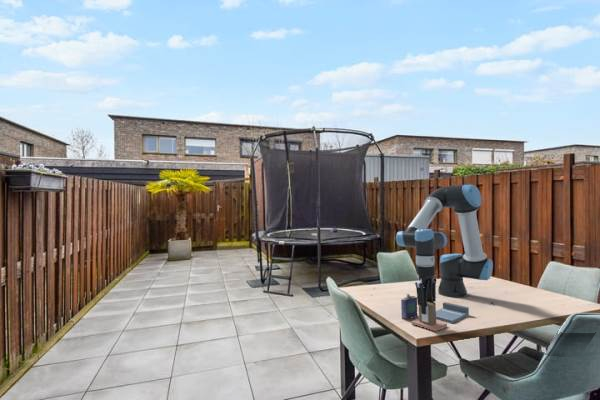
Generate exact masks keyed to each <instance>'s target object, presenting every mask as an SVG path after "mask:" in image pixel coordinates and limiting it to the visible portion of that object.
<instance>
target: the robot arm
mask: <svg viewBox="0 0 600 400" xmlns="http://www.w3.org/2000/svg"><path fill="white" fill-rule="evenodd" d="M480 206H482V196H481V192H480V190H479V188H478V187H477V186H476V185H474V184H459V185H449V186H448V185H447V186H442V187H439V188H437V189H436V190H434V191H433V192H431V193H430V194H429V195H428V196H427V197H426V199H424V204H423V206H422V207H421V208H420V209H419V211H418V213H417V214H416V216H414V218H413V220H412V221H411V223H409V224H408V226H407V227H406V229H405V231H404V230H400V231H397V233H396V236H395V241H396V244H397V245H398V246H399V247H405V248H415V264H416V265H415V269H416V270H415V271H416V275H418V276H419V277H418V281H416V282H414V284H415V288H416V297H417V306H419V305H420V306H421V311H422V321H424V322H429V314H428V306H427V302H430V303H435V304H436V301H437V299H436V298H437V296H436V295H437V294H436V293H438V294H439V295H441V296H445V297H452V298H463V297H464V298H465V297H467V296H468V291H467V287H466V286H465V282H464V278H466V279H472V280H479V281H489V280H490V279H491V276H492V274H493V269H494V262H493V260H492V259H491V258H488V255H487V253H485V252H484V250H483V245H482V239H481V235H480V233H481V232H480V228H479V223H478V218H477V211H478V210H479V207H480ZM445 208H452V209H453V212H454V213H455V214H457V218H458V223H459V227H460V228H459V229H460V234H461V239H462V243H463V248H464V249H463V250H464V254H462V253H447V254H442V255H440V257H439V258H440V259H439V265H440V266H439V267H440V268H439V269H440V281H439V284H438V288H436V286H437V278H434V277H433V276H435V275H436V266H435V263H436V259H435V250H441V249H442V248H444V247H446V246H447V245H448V237H447V235H446V234H445V233H444V232H441V231H434V230H433V229H431V228H428V226H429V225H430V223H432V221H433V219H434V218H435V217H436V214H437V213H439V212H441V210H443V209H445ZM436 289H437V290H438V292H436Z"/></svg>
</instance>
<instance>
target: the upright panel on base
mask: <svg viewBox="0 0 600 400" xmlns="http://www.w3.org/2000/svg"><path fill="white" fill-rule="evenodd" d="M427 306H428V314H429V322H424V321H422V311H421V306H420V305H418V318H416V319H414V320H411V325H413V326H416V325H417V327H419V326H420V328H422V327H424V328H423V329H426V328H427V329H426V330H429V329H430V330H429V331H432V330H433V332H435V331H437V332H439V331H440V329H441V330H442V329H444V328H446V327H447V326H448V324H447V323H448V322H445V321H442V320H438V319H436V311H437V310H436V309H437V308H436V306H437V305H436V302H435V303H430V302H427ZM438 330H439V331H438Z"/></svg>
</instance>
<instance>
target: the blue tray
mask: <svg viewBox="0 0 600 400" xmlns="http://www.w3.org/2000/svg"><path fill="white" fill-rule="evenodd" d="M469 310H470V308H469V307H468V306H465V305H459V304H455V303H452V302H451V303H450V302H446V301H444V302H443V303H442V308H439V309H437V310H436V320H438V319H439V320H438V321H441V322H445V321H446V322H445V323H449V322H450V324H455V323H457V322H458V321H460V320H462V319H465V318H466V317H468V316H470V311H469Z"/></svg>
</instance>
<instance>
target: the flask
mask: <svg viewBox="0 0 600 400" xmlns="http://www.w3.org/2000/svg"><path fill="white" fill-rule="evenodd" d="M400 302H401V303H400V305H401V308H400V309H401V319H402V320H408V318H409V319H412V318H416V317H415V316H417V317H418V301H417V296H415V295H411V294H410V293H406V297H404V298H401V299H400ZM411 317H412V318H411Z"/></svg>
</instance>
